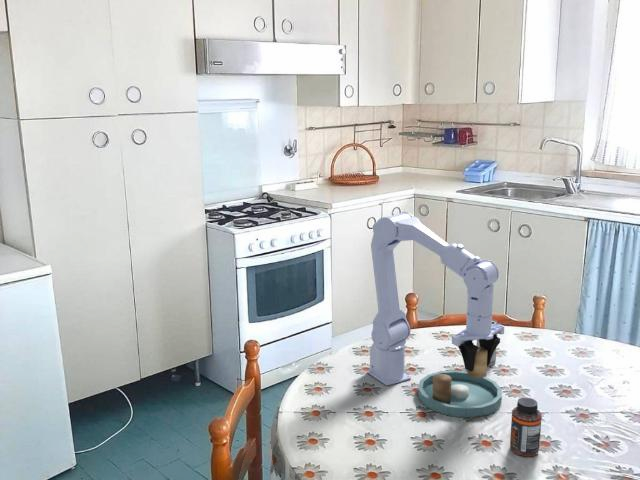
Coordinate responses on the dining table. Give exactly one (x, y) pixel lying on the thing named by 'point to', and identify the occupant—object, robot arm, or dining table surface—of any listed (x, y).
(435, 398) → the brown wooden peg
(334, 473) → the dining table surface
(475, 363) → the oak bead
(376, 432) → the dining table surface
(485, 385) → the ring tray
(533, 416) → the supplement bottle
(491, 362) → the energy drink
